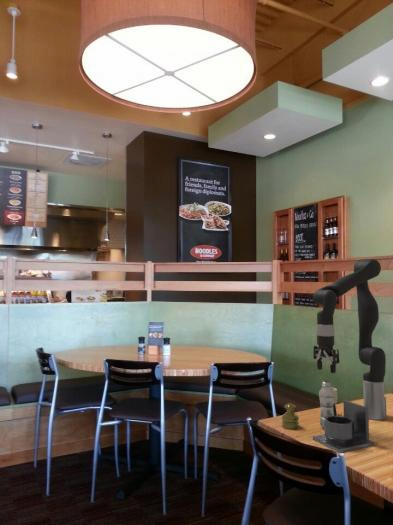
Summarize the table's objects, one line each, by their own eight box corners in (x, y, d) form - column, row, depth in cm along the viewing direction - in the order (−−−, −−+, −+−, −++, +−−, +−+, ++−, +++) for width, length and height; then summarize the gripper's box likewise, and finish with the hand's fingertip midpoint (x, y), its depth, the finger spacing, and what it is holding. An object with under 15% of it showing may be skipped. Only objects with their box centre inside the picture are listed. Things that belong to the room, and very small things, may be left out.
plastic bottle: (336, 430, 179) (335, 383, 180) (320, 429, 180) (319, 383, 181) (334, 425, 185) (333, 380, 186) (318, 424, 186) (317, 379, 187)
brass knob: (286, 422, 190) (286, 400, 190) (301, 426, 185) (301, 403, 185) (278, 427, 184) (278, 404, 184) (294, 430, 179) (293, 407, 180)
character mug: (322, 412, 205) (321, 385, 205) (337, 413, 202) (336, 386, 203) (322, 419, 194) (321, 391, 195) (338, 420, 192) (337, 392, 193)
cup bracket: (346, 432, 176) (345, 399, 177) (374, 445, 162) (373, 408, 163) (312, 439, 169) (312, 404, 170) (339, 452, 155) (338, 414, 156)
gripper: (343, 335, 180) (344, 373, 179) (321, 332, 193) (322, 367, 192) (329, 336, 177) (330, 375, 176) (308, 333, 190) (309, 368, 189)
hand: (326, 371), depth 184 cm, fingers open, 8 cm apart
